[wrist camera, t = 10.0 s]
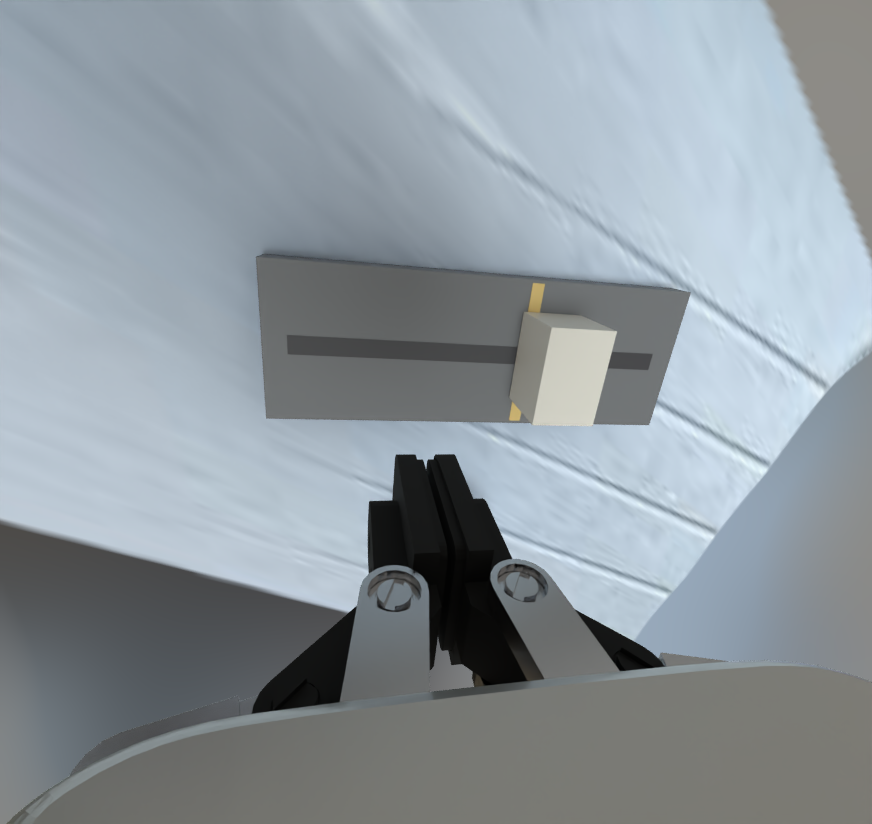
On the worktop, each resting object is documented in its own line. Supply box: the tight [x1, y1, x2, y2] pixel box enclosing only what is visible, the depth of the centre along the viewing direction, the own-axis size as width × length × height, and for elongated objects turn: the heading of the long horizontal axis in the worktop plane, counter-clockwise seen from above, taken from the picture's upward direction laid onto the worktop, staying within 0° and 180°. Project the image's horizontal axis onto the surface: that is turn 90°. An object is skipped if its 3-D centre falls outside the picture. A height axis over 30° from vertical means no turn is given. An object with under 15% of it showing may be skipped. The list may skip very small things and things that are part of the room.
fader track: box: [256, 254, 690, 425], centre depth 30 cm, size 28×10×2 cm, turn 84°
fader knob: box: [509, 312, 617, 426], centre depth 28 cm, size 4×6×4 cm, turn 174°
